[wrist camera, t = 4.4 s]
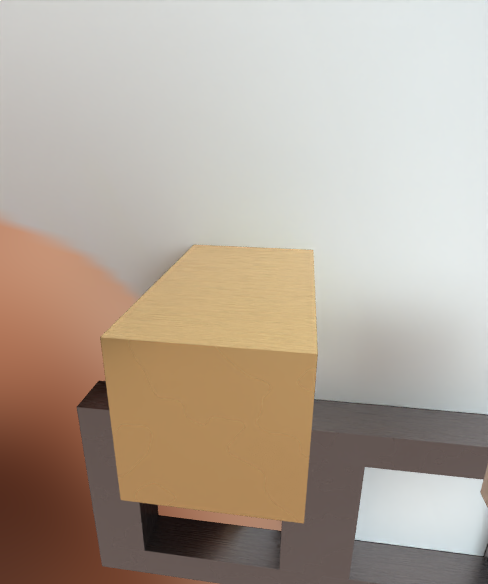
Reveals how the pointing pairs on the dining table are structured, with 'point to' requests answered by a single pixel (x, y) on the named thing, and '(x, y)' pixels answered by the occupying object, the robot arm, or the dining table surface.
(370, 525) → the dining table surface
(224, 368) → the maple wood beam
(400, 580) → the rail
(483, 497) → the robot arm
